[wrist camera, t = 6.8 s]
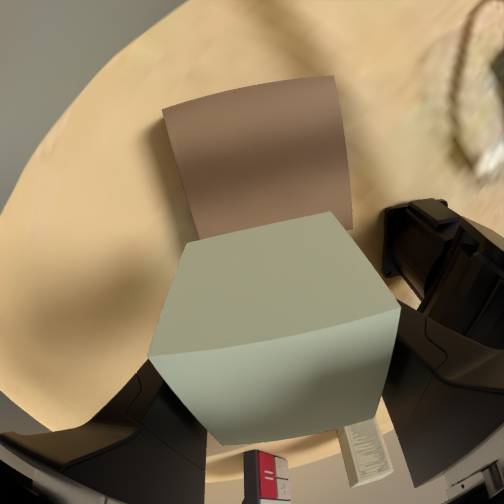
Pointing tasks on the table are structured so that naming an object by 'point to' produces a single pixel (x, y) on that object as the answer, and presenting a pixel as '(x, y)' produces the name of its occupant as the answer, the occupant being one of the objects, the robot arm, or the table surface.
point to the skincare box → (364, 452)
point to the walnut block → (262, 155)
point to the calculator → (265, 479)
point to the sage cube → (276, 331)
